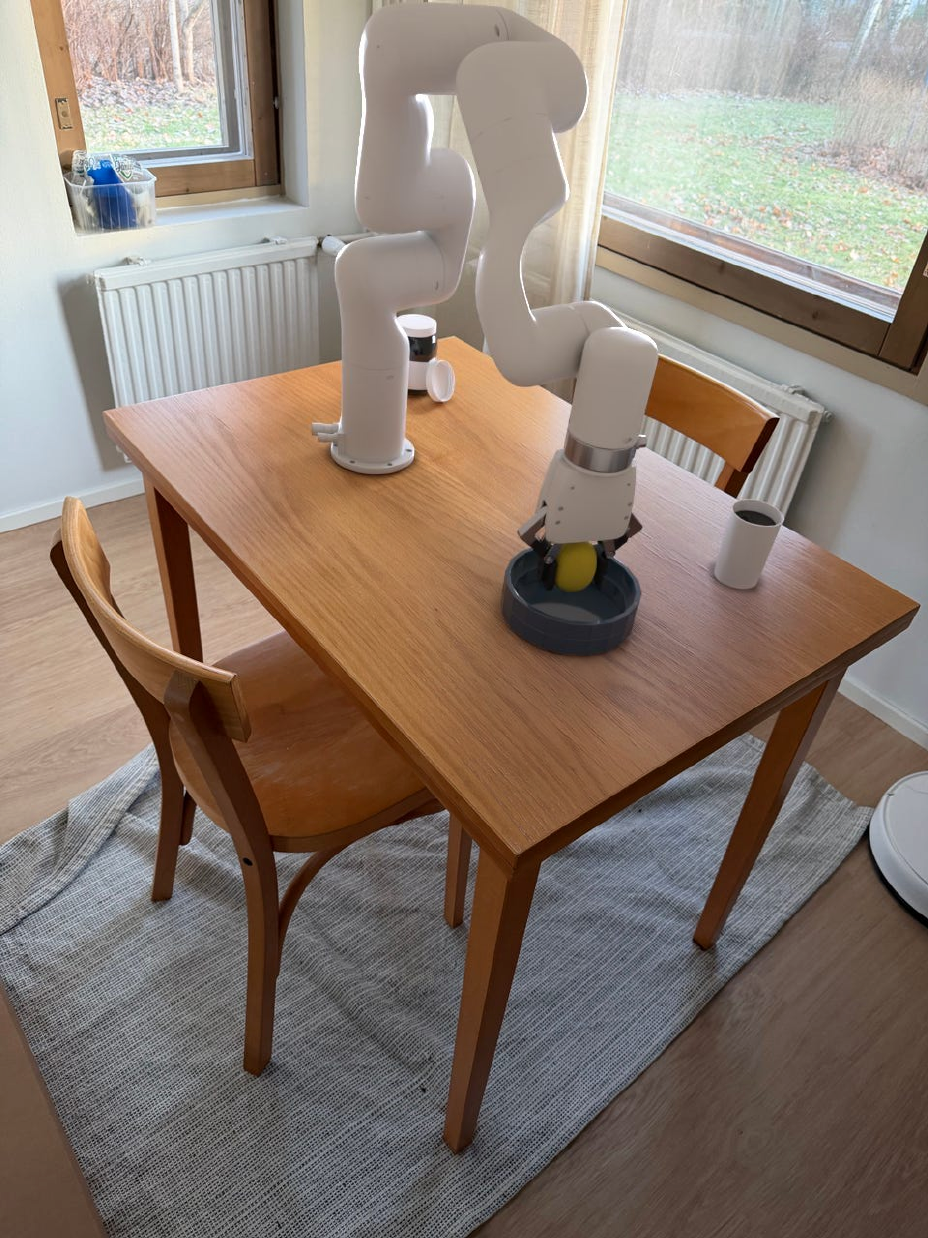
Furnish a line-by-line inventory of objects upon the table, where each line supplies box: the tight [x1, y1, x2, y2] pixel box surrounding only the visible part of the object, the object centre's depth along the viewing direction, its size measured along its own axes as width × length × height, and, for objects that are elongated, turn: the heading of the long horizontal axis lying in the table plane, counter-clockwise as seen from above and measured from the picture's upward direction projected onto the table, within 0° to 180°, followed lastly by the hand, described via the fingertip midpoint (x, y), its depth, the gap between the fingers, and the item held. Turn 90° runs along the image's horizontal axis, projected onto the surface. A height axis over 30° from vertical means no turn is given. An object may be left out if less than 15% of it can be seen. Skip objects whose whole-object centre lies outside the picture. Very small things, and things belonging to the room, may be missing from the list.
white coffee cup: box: [713, 498, 785, 590], centre depth 117 cm, size 7×7×10 cm
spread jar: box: [397, 313, 456, 403], centre depth 152 cm, size 12×11×12 cm
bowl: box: [500, 547, 643, 657], centre depth 109 cm, size 16×16×5 cm
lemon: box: [554, 541, 597, 592], centre depth 106 cm, size 6×6×8 cm
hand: (569, 580), depth 108 cm, fingers closed on lemon, 5 cm apart
